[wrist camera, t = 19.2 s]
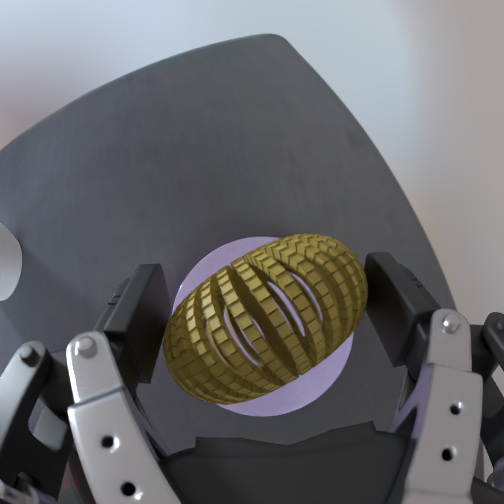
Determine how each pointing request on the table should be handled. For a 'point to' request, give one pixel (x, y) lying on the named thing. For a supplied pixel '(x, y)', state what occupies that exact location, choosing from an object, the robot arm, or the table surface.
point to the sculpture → (265, 319)
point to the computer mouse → (75, 484)
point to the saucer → (293, 392)
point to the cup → (9, 263)
